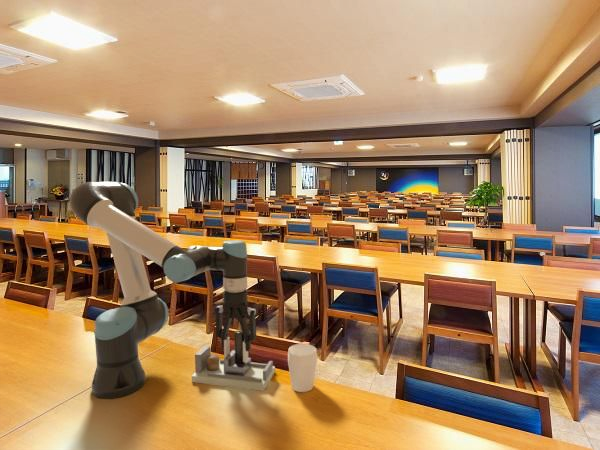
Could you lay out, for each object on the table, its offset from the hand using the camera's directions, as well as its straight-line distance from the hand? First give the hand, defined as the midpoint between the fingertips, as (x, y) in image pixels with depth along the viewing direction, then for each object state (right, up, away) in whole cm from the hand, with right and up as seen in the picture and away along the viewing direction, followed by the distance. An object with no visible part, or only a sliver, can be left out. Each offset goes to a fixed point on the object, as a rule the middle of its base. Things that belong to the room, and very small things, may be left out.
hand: (236, 358), depth 123 cm
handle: (0, -4, 0) cm, 4 cm away
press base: (-1, -6, +1) cm, 6 cm away
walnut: (-8, -4, +2) cm, 9 cm away
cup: (+21, -7, -5) cm, 23 cm away
